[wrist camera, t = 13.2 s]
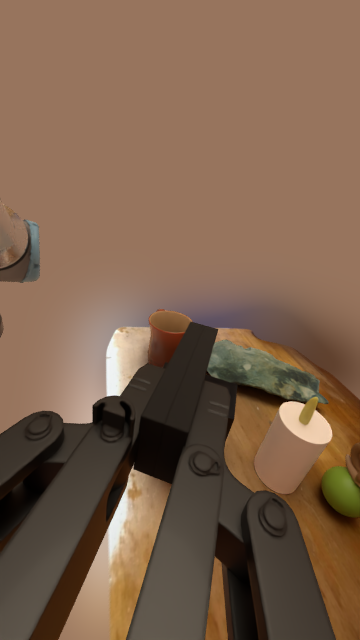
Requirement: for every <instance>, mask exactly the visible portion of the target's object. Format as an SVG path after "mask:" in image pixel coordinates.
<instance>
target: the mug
mask: <svg viewBox="0 0 360 640" xmlns="http://www.w3.org/2000/svg"><path fill="white" fill-rule="evenodd" d="M190 322H192V320H191V319H190V318H189V317H187V316H186V315H184V314H181V313H178V312H174V311H165V310H164V309H158V310H157V311H156V312H155V313H153V314H151V315H150V317H149V324H150V329H151V337H150V342H149V349H148V361H149V363H150V364H151V365H155V366H158V367H161V368H163V366H164V364H165V362H167V363H169V361H170V359H171V357H172V356H173V354H174V352H175V350H176V348H177V346H178V344H179V342H180V340H181V339H182V337H183V335H184V333H185V331H186V329H187V327H188V325H189V323H190Z"/></svg>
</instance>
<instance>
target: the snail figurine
mask: <svg viewBox="0 0 360 640" xmlns="http://www.w3.org/2000/svg"><path fill="white" fill-rule="evenodd" d="M346 466H347V468H346V467H342V466H337V467H332V468H330V469H328V470H327V471H326V472H325V474H324V475H323V478H322V491H323V494H324V496H325V498H326V500H327V501H328V503H329V504H330V505H331V506H332V507H333V508H334V509H335V510H336V511H337V512H339V513H341V514H342V515H345V516H348V517H353V518H357V517H360V443H356V444H355V445H354V446H353V447H352V449H351V457H350V456H349V455H346Z"/></svg>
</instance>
